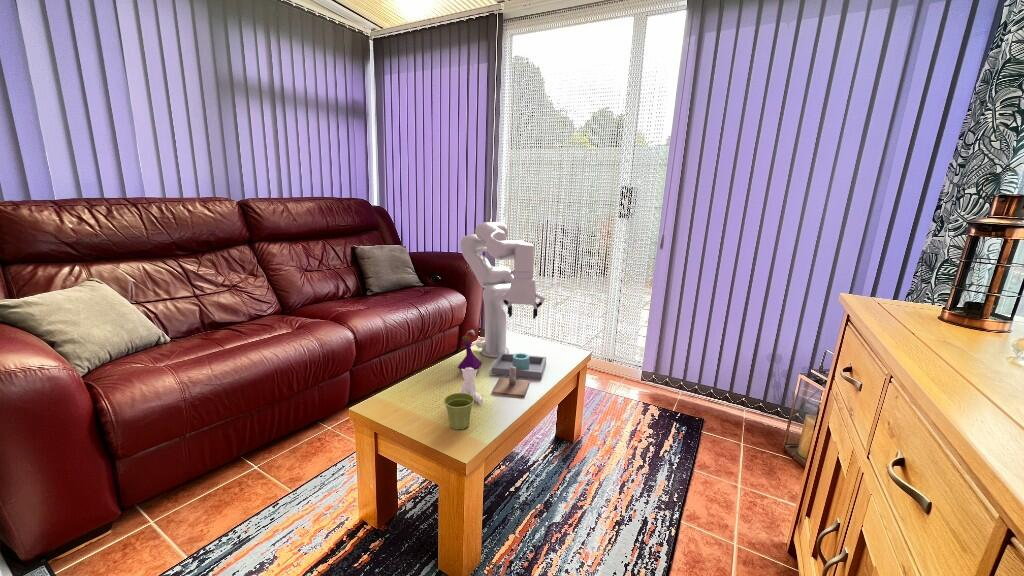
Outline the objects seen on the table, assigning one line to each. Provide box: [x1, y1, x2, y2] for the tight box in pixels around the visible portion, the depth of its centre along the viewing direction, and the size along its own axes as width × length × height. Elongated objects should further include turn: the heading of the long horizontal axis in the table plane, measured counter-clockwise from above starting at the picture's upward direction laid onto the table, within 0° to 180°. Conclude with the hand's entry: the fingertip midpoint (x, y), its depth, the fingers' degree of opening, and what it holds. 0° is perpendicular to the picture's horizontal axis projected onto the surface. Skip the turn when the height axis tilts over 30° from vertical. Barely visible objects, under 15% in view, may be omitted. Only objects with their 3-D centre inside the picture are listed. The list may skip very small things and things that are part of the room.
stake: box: [491, 366, 531, 398], centre depth 154 cm, size 12×12×8 cm
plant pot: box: [443, 392, 475, 430], centre depth 129 cm, size 9×9×9 cm
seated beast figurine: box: [459, 367, 484, 406], centre depth 145 cm, size 10×9×12 cm
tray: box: [491, 353, 547, 381], centre depth 172 cm, size 20×16×3 cm
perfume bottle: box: [457, 329, 483, 374], centre depth 166 cm, size 8×8×18 cm
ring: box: [513, 352, 531, 370], centre depth 170 cm, size 7×8×6 cm
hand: (522, 317), depth 165 cm, fingers open, 9 cm apart
